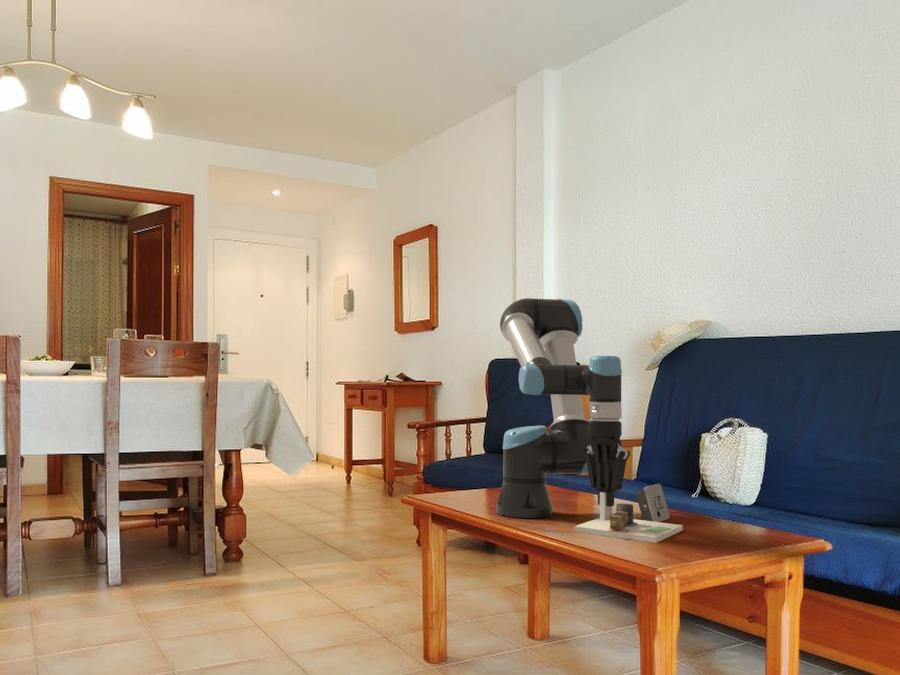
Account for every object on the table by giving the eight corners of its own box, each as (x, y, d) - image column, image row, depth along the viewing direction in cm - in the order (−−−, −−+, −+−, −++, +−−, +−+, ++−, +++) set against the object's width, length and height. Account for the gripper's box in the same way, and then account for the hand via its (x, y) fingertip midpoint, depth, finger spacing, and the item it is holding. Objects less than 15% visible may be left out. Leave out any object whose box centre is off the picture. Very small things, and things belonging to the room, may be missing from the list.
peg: (618, 520, 182) (618, 502, 183) (634, 522, 181) (634, 504, 181) (604, 530, 170) (604, 511, 171) (621, 532, 169) (621, 512, 169)
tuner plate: (573, 531, 176) (573, 525, 176) (606, 520, 191) (606, 514, 191) (655, 543, 165) (655, 536, 165) (682, 530, 179) (682, 524, 179)
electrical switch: (656, 524, 187) (652, 487, 188) (636, 523, 190) (633, 487, 191) (670, 519, 194) (667, 483, 195) (651, 518, 197) (648, 483, 198)
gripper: (574, 419, 180) (574, 517, 178) (616, 421, 170) (617, 525, 168) (595, 418, 185) (595, 514, 183) (637, 420, 174) (638, 522, 173)
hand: (606, 519), depth 176 cm, fingers closed
